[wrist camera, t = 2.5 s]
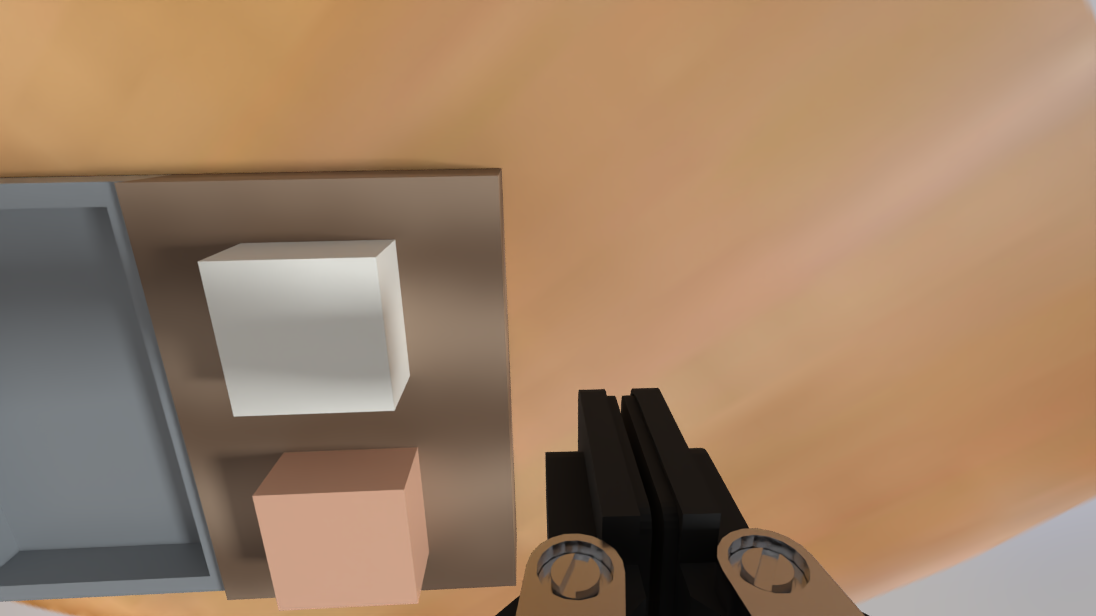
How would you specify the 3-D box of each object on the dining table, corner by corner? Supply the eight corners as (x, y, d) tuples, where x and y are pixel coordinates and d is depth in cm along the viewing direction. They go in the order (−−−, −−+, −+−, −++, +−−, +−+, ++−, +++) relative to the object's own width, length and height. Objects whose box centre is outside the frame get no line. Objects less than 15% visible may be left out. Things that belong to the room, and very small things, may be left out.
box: (-143, 180, 19) (-237, 188, 17) (173, 174, 20) (125, 181, 17) (17, 557, 25) (-36, 603, 22) (260, 546, 25) (233, 590, 23)
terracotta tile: (283, 452, 20) (252, 496, 18) (417, 447, 20) (404, 489, 18) (305, 557, 22) (279, 610, 19) (428, 551, 22) (418, 603, 20)
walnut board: (173, 174, 20) (113, 182, 17) (501, 168, 20) (498, 175, 17) (260, 546, 25) (227, 599, 22) (516, 534, 26) (516, 585, 23)
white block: (241, 243, 18) (197, 261, 15) (395, 239, 18) (375, 256, 15) (269, 380, 19) (233, 416, 17) (409, 375, 19) (394, 410, 17)
